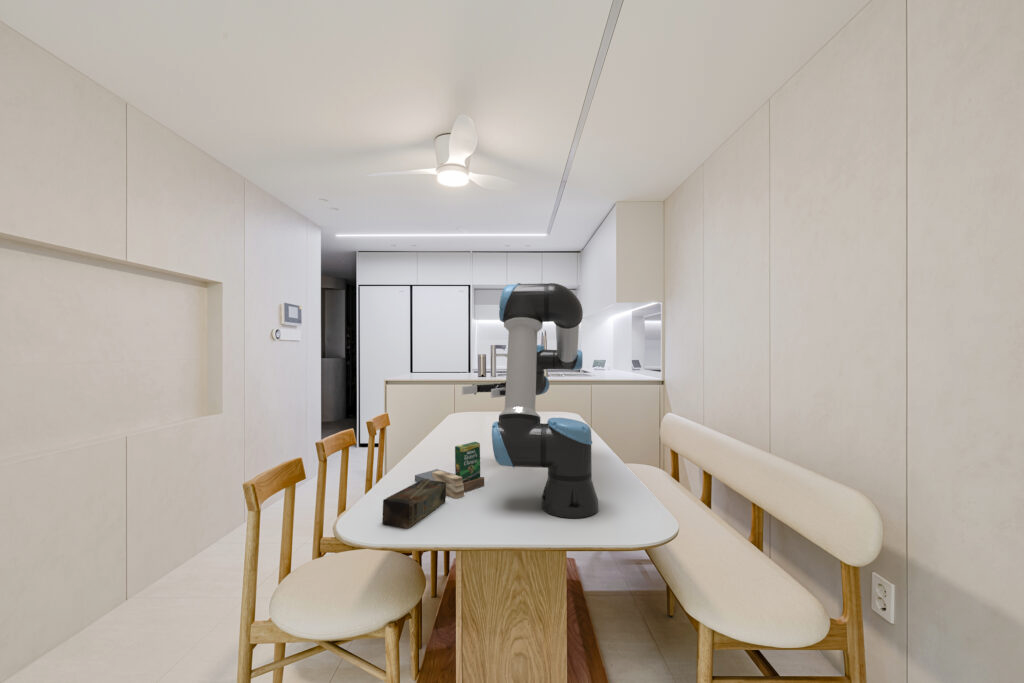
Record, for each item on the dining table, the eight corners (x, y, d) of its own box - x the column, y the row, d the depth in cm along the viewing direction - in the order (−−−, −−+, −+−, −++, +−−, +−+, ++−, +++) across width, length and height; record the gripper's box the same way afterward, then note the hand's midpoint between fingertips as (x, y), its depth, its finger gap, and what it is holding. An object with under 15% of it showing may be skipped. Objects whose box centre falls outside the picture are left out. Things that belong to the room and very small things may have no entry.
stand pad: (455, 480, 139) (455, 474, 139) (432, 487, 132) (432, 480, 132) (436, 475, 145) (436, 469, 145) (414, 481, 138) (414, 475, 138)
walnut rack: (484, 485, 134) (484, 477, 134) (465, 492, 128) (465, 483, 128) (470, 481, 138) (470, 473, 138) (451, 487, 132) (451, 479, 132)
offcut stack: (464, 496, 124) (464, 477, 124) (456, 498, 122) (456, 479, 122) (439, 487, 132) (439, 470, 132) (431, 490, 129) (431, 472, 129)
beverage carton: (447, 503, 120) (447, 479, 120) (408, 531, 102) (409, 503, 102) (422, 499, 122) (422, 476, 122) (380, 526, 104) (380, 498, 104)
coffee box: (459, 491, 129) (460, 446, 129) (454, 488, 131) (454, 445, 131) (481, 485, 134) (481, 442, 134) (475, 482, 136) (475, 441, 137)
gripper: (545, 400, 151) (505, 406, 135) (493, 394, 167) (451, 400, 151) (545, 378, 151) (505, 382, 135) (493, 375, 167) (451, 378, 151)
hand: (476, 391), depth 143 cm, fingers open, 13 cm apart
